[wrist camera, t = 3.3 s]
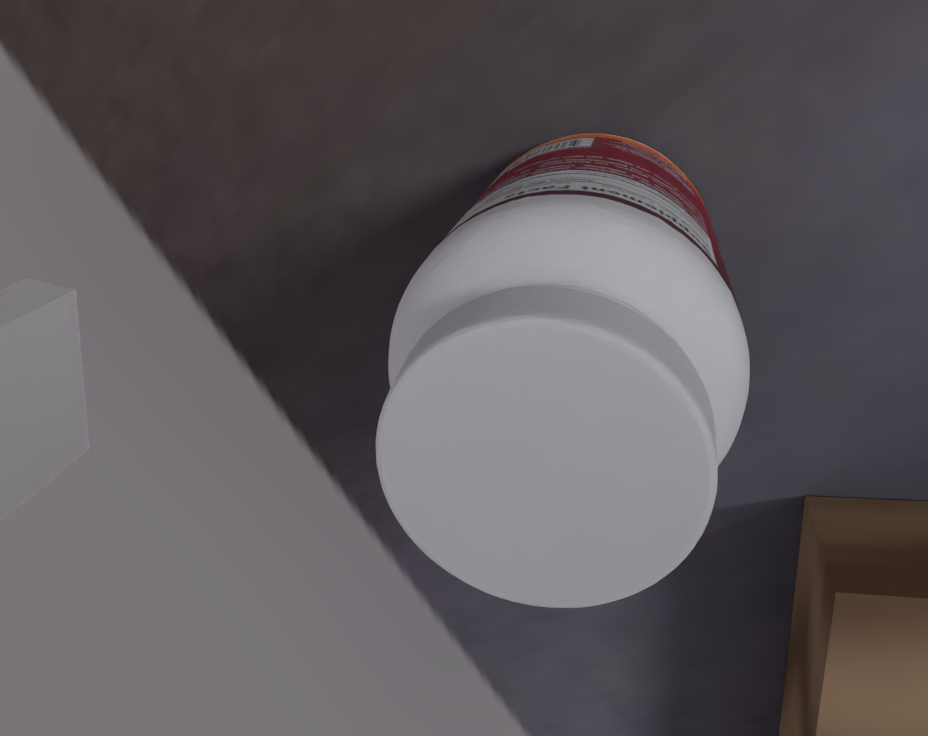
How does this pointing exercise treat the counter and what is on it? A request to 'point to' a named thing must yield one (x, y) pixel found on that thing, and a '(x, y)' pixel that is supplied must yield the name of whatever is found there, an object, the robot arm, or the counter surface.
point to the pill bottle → (565, 379)
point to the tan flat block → (859, 621)
